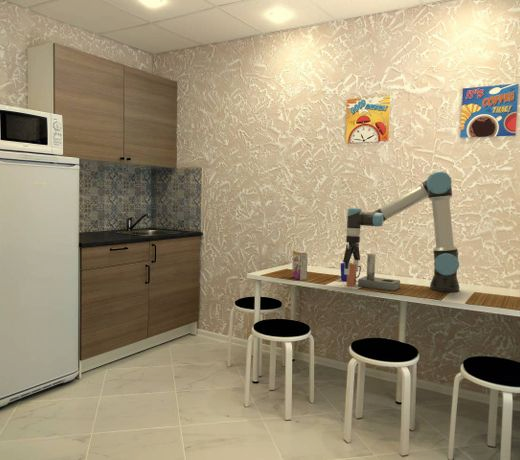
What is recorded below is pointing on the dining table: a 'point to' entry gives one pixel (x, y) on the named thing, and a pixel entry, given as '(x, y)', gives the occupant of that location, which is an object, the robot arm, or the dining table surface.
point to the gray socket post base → (375, 282)
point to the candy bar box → (299, 265)
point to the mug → (344, 276)
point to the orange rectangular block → (352, 275)
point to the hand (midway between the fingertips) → (351, 272)
